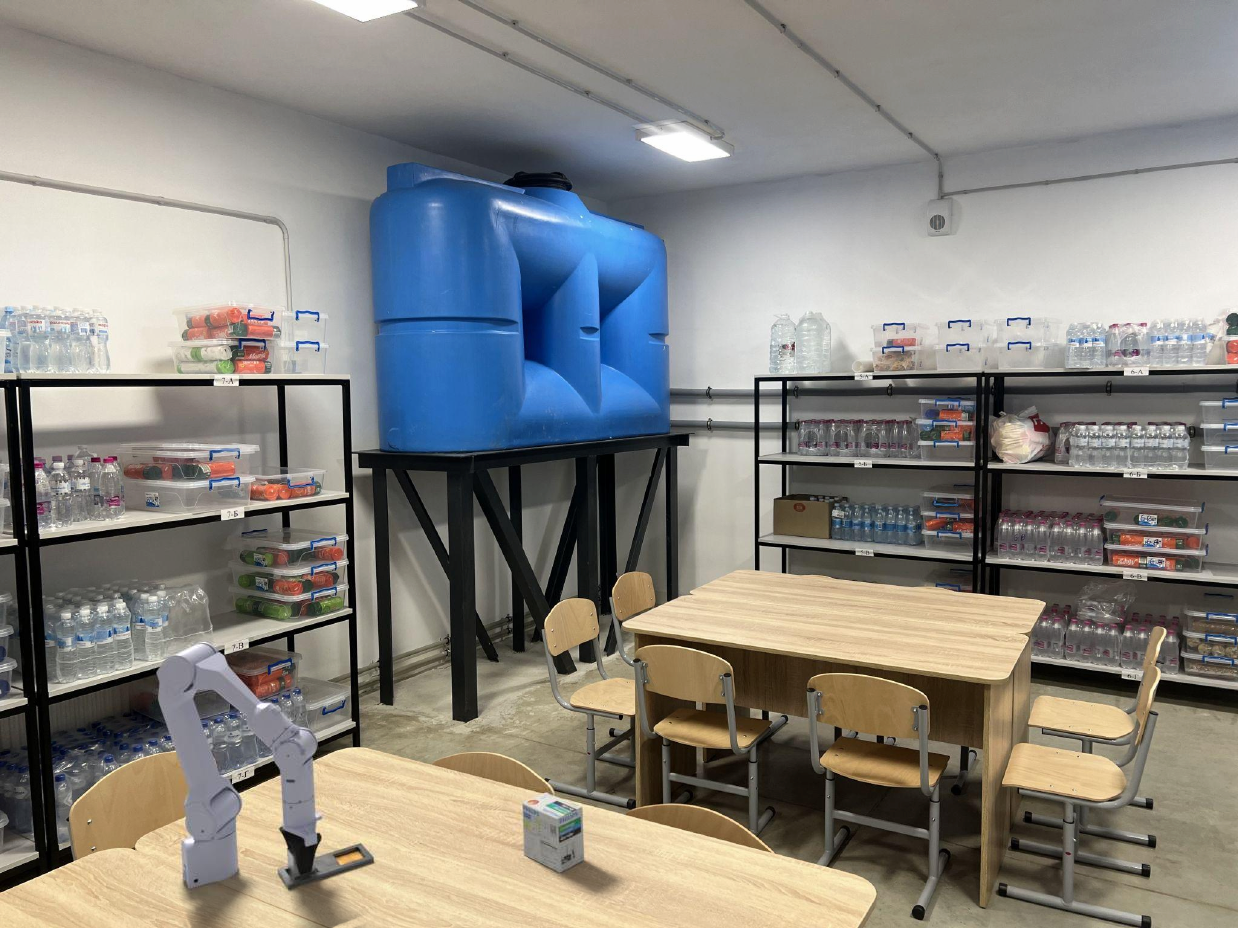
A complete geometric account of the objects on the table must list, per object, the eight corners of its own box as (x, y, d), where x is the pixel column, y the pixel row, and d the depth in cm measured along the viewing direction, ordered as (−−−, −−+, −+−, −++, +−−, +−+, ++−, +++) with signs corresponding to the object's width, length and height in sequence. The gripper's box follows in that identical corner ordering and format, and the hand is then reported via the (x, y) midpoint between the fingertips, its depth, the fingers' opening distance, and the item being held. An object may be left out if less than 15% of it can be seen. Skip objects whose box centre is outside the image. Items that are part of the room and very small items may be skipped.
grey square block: (294, 882, 165) (293, 855, 165) (288, 873, 168) (286, 846, 168) (316, 875, 167) (315, 848, 167) (309, 866, 171) (308, 840, 170)
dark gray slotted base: (288, 894, 163) (288, 884, 163) (278, 877, 169) (277, 868, 169) (374, 866, 172) (373, 856, 172) (361, 851, 178) (361, 842, 178)
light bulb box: (585, 860, 173) (584, 806, 172) (560, 874, 168) (558, 818, 167) (547, 842, 180) (546, 790, 179) (522, 855, 175) (520, 801, 175)
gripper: (332, 804, 163) (335, 876, 164) (308, 778, 175) (311, 845, 176) (292, 815, 159) (296, 889, 160) (270, 787, 171) (274, 856, 172)
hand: (301, 867), depth 168 cm, fingers closed on grey square block, 4 cm apart
